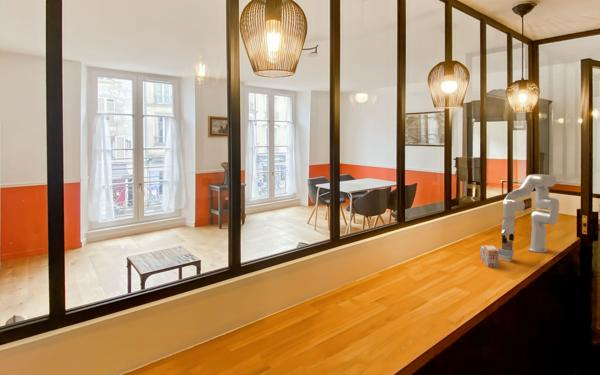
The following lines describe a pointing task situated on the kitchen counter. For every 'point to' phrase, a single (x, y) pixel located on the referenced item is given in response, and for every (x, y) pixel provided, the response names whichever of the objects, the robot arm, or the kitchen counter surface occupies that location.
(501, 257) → the tower base
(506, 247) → the walnut block
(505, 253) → the tower top
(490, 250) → the stack of blocks
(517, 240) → the kitchen counter surface
